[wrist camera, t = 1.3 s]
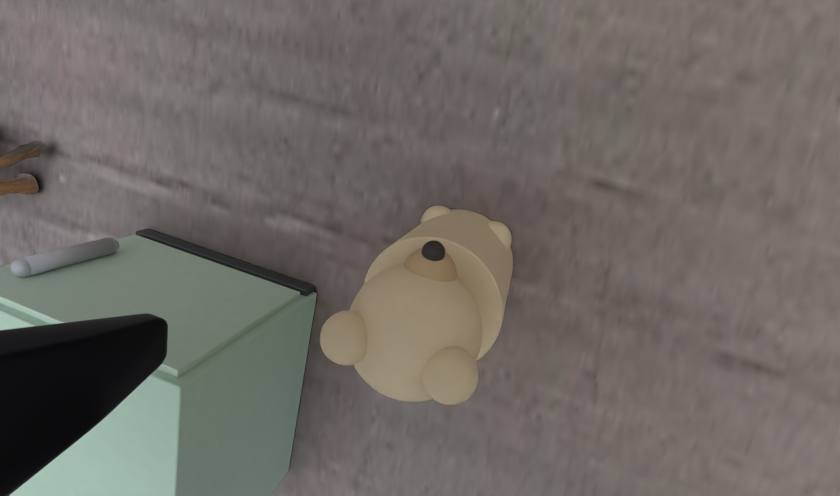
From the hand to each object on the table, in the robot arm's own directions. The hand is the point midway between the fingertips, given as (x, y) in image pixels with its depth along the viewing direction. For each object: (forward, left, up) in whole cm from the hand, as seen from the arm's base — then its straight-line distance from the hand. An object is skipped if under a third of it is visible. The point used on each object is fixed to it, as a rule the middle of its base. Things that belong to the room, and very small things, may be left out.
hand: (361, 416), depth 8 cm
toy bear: (0, 0, -10) cm, 10 cm away
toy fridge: (+11, +9, -10) cm, 18 cm away
